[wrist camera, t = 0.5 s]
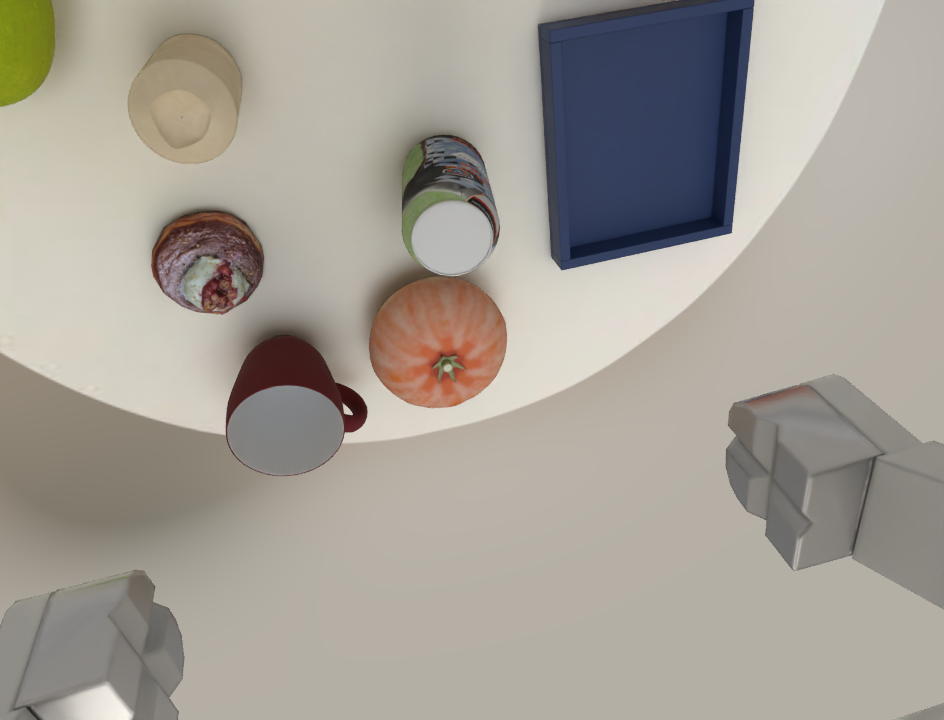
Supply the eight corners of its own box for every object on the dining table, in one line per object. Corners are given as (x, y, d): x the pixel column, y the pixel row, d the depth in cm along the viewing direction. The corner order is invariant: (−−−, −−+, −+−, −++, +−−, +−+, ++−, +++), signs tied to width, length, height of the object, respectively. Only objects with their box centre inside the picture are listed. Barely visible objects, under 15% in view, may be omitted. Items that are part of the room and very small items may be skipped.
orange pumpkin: (398, 393, 62) (413, 451, 56) (339, 296, 56) (348, 349, 49) (510, 340, 62) (539, 392, 55) (464, 236, 56) (490, 281, 49)
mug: (376, 330, 58) (393, 401, 50) (348, 408, 62) (361, 487, 54) (243, 302, 54) (239, 374, 46) (222, 388, 58) (214, 469, 50)
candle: (224, 138, 48) (215, 188, 40) (138, 99, 45) (109, 145, 37) (255, 59, 46) (251, 96, 38) (166, 15, 43) (141, 43, 35)
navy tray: (537, 24, 49) (549, 30, 46) (735, -10, 50) (755, -6, 48) (551, 257, 58) (561, 270, 56) (716, 221, 60) (731, 233, 58)
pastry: (243, 319, 55) (241, 353, 51) (139, 287, 52) (128, 321, 48) (280, 229, 52) (280, 258, 48) (172, 189, 49) (163, 216, 45)
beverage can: (491, 191, 54) (540, 257, 44) (402, 230, 54) (431, 305, 44) (463, 113, 51) (509, 166, 41) (368, 155, 51) (391, 218, 41)
